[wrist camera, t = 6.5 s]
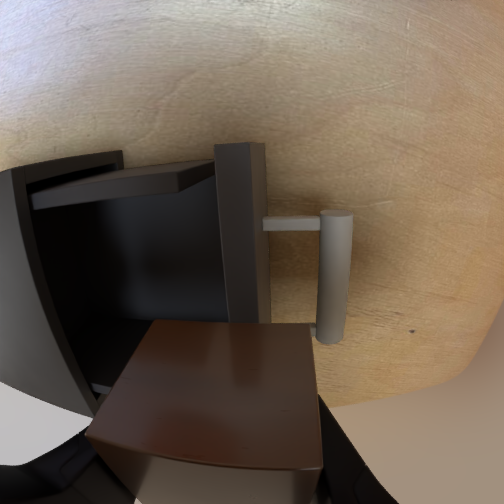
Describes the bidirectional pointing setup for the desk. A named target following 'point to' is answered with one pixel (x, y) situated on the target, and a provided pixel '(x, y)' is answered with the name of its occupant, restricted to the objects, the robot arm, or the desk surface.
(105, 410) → the block
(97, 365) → the drawer
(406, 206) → the desk surface
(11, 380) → the cabinet
